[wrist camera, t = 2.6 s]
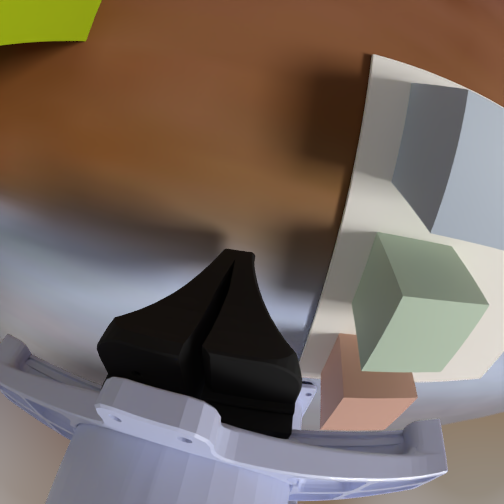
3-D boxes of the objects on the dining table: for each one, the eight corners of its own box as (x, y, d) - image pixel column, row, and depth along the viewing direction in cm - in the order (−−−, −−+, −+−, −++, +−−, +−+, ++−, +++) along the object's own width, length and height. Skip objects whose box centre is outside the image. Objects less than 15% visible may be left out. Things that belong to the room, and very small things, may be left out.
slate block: (468, 202, 11) (517, 254, 7) (391, 182, 11) (430, 233, 8) (491, 116, 9) (555, 143, 5) (411, 82, 9) (468, 89, 5)
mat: (479, 375, 19) (480, 378, 18) (294, 373, 20) (294, 376, 20) (590, 174, 8) (593, 175, 7) (371, 54, 9) (373, 54, 9)
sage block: (420, 310, 15) (440, 371, 11) (351, 303, 15) (361, 371, 12) (451, 246, 12) (489, 305, 9) (376, 231, 13) (403, 296, 9)
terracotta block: (377, 376, 19) (384, 429, 15) (320, 373, 19) (320, 429, 15) (403, 338, 16) (417, 397, 13) (339, 333, 17) (343, 397, 13)
